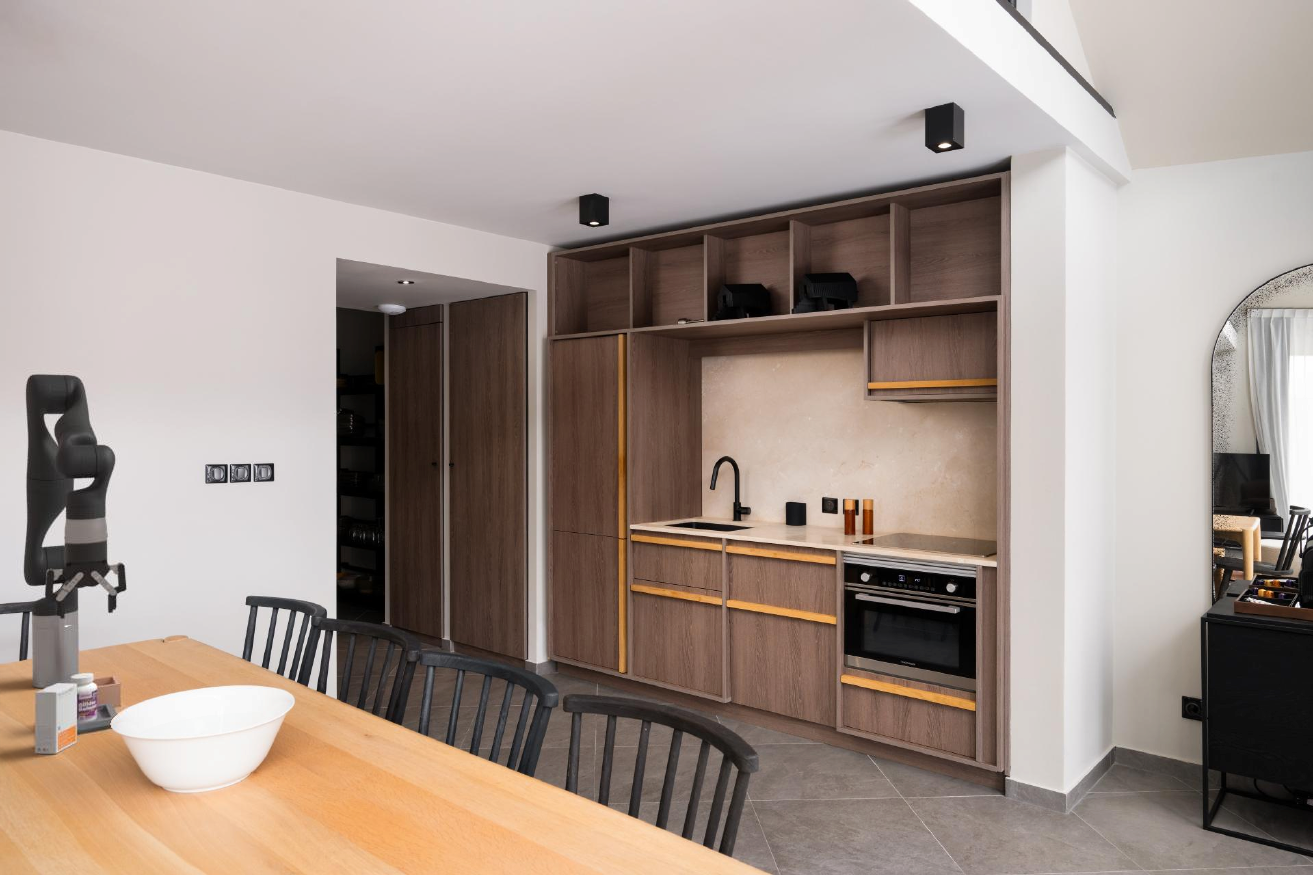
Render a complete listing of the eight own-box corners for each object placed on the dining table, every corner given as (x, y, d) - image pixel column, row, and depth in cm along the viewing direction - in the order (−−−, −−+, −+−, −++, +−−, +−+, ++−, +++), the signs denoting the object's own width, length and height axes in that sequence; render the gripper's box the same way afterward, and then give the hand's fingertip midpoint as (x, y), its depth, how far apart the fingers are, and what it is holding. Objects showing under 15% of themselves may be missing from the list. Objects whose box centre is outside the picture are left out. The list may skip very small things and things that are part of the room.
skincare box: (56, 754, 164) (55, 692, 164) (34, 754, 164) (33, 692, 164) (78, 742, 170) (78, 682, 170) (57, 742, 170) (56, 682, 170)
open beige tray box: (73, 703, 193) (73, 681, 193) (115, 696, 198) (115, 675, 198) (77, 713, 187) (76, 690, 186) (120, 705, 192) (120, 683, 191)
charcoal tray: (44, 723, 180) (44, 713, 180) (111, 711, 188) (111, 702, 188) (48, 740, 171) (48, 730, 171) (118, 726, 179) (118, 717, 179)
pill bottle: (82, 726, 177) (81, 680, 176) (60, 724, 178) (59, 678, 177) (103, 717, 182) (103, 672, 182) (82, 715, 183) (82, 670, 183)
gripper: (123, 534, 188) (123, 607, 189) (43, 539, 180) (44, 616, 180) (127, 538, 183) (128, 614, 183) (45, 544, 174) (46, 623, 174)
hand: (86, 614), depth 182 cm, fingers open, 8 cm apart
